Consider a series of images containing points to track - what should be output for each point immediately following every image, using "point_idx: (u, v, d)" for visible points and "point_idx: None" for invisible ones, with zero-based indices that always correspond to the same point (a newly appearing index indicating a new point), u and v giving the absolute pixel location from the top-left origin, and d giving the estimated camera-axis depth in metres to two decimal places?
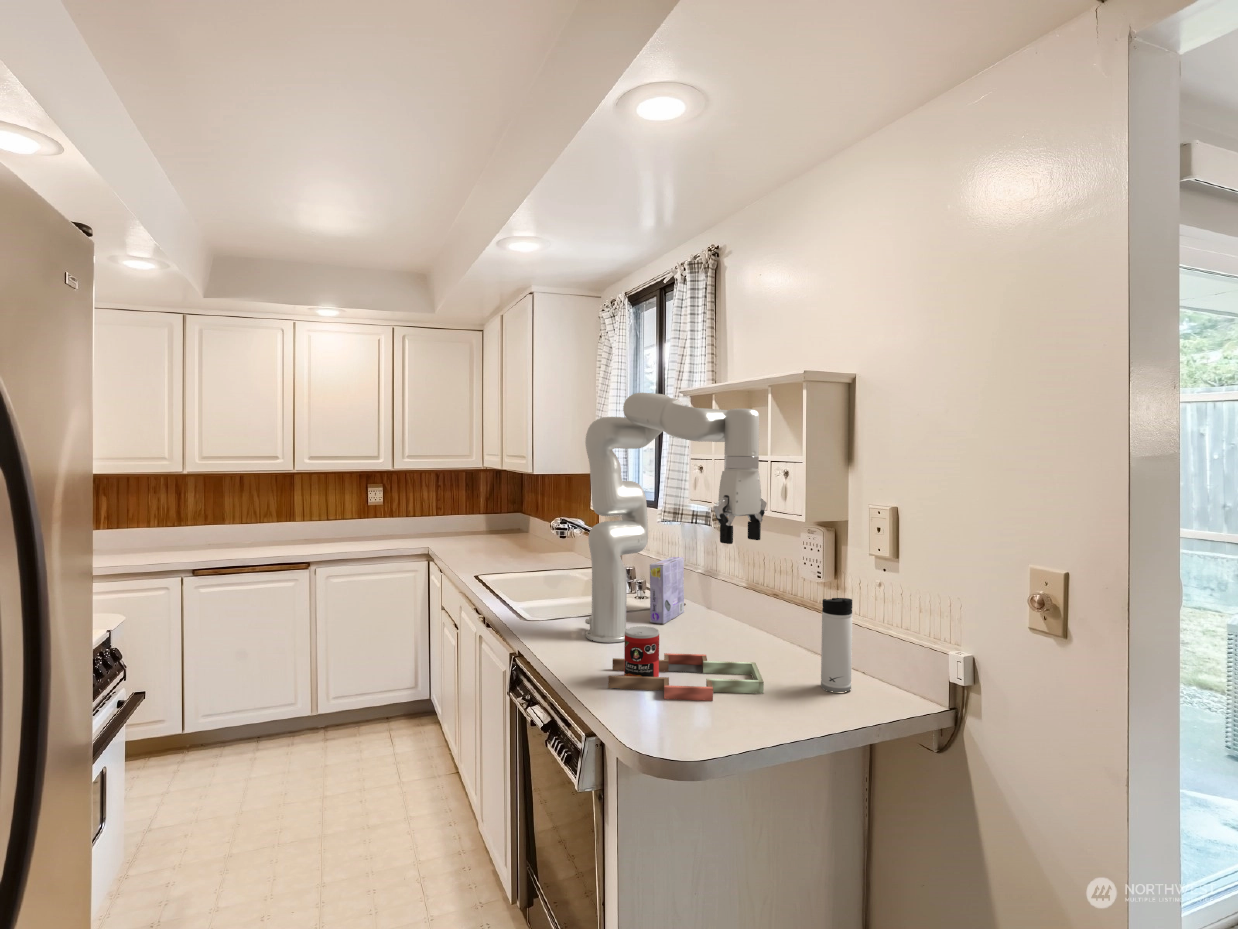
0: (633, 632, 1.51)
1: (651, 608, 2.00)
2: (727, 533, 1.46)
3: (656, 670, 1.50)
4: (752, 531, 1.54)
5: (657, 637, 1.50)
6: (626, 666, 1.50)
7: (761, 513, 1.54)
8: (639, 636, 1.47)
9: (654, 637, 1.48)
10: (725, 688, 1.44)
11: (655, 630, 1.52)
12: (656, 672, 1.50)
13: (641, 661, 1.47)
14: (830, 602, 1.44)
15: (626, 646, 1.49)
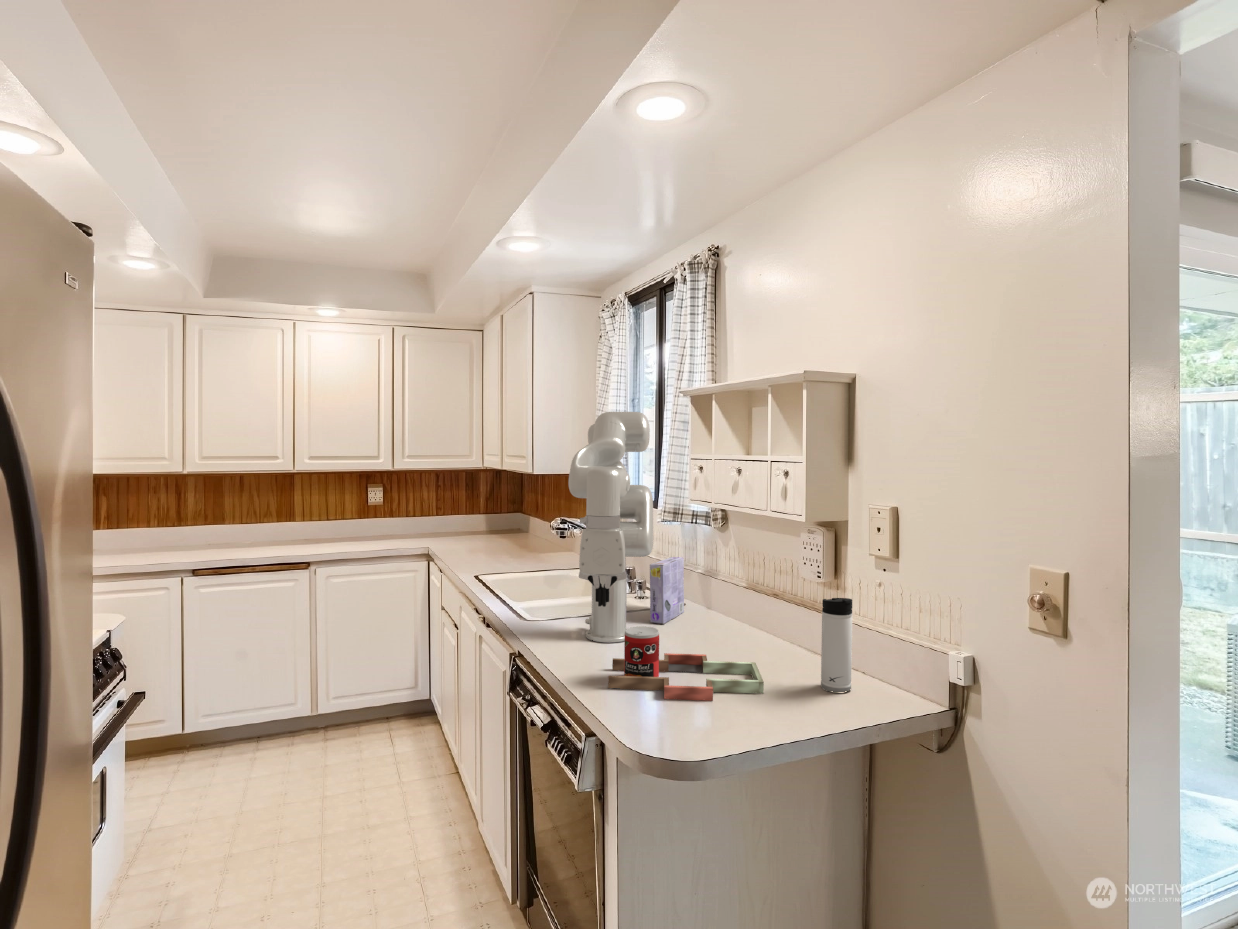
0: (633, 632, 1.51)
1: (651, 608, 2.00)
2: None
3: (656, 670, 1.50)
4: None
5: (657, 637, 1.50)
6: (626, 666, 1.50)
7: None
8: (639, 636, 1.47)
9: (654, 637, 1.48)
10: (725, 688, 1.44)
11: (655, 630, 1.52)
12: (656, 672, 1.50)
13: (641, 661, 1.47)
14: (830, 602, 1.44)
15: (626, 646, 1.49)
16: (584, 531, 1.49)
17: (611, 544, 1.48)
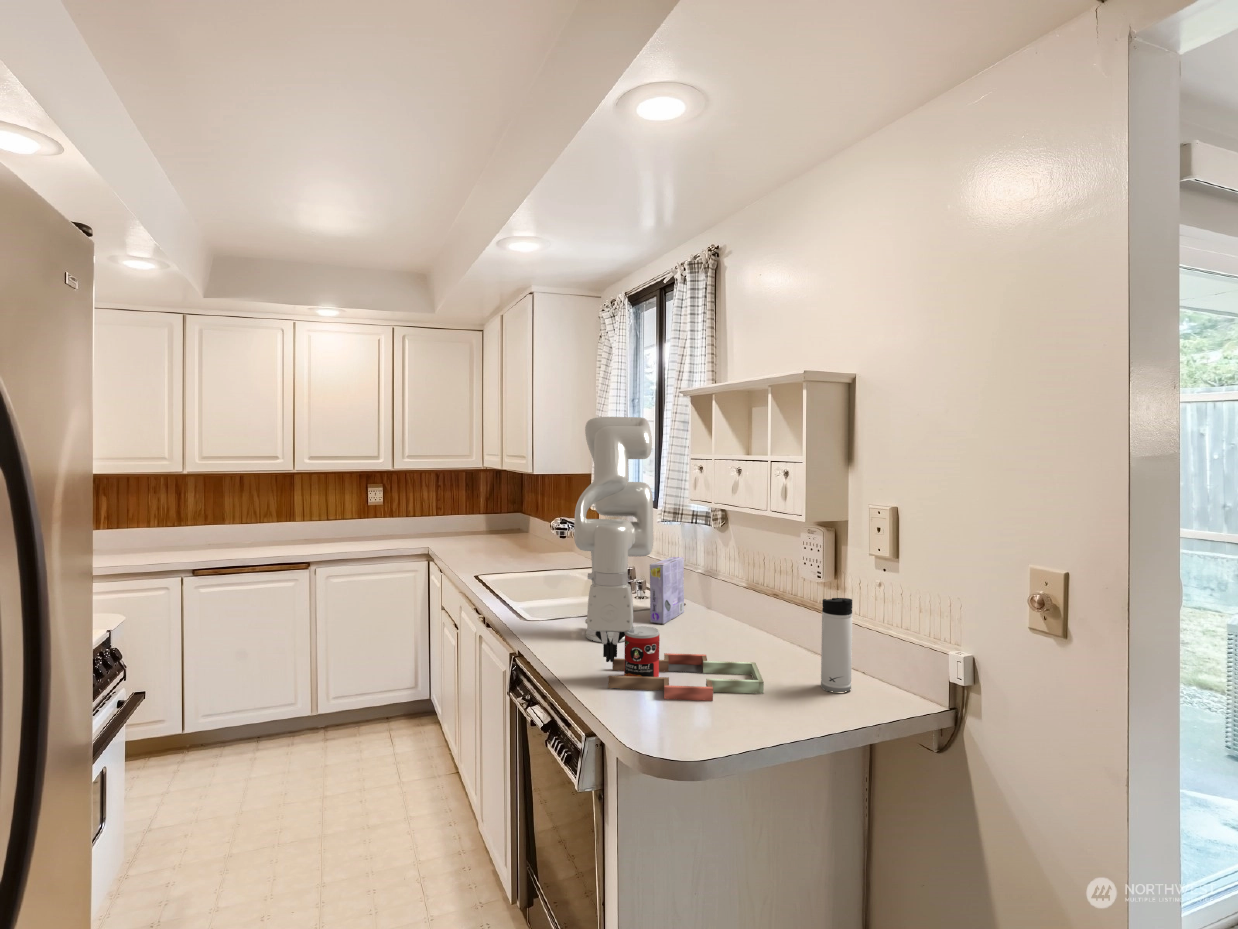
0: None
1: (651, 608, 2.00)
2: None
3: (656, 670, 1.49)
4: None
5: (657, 637, 1.50)
6: (626, 666, 1.50)
7: None
8: (639, 636, 1.47)
9: (654, 637, 1.48)
10: (725, 688, 1.44)
11: (655, 630, 1.52)
12: (656, 672, 1.50)
13: (641, 661, 1.47)
14: (830, 602, 1.44)
15: (626, 646, 1.49)
16: (592, 587, 1.50)
17: (619, 601, 1.49)
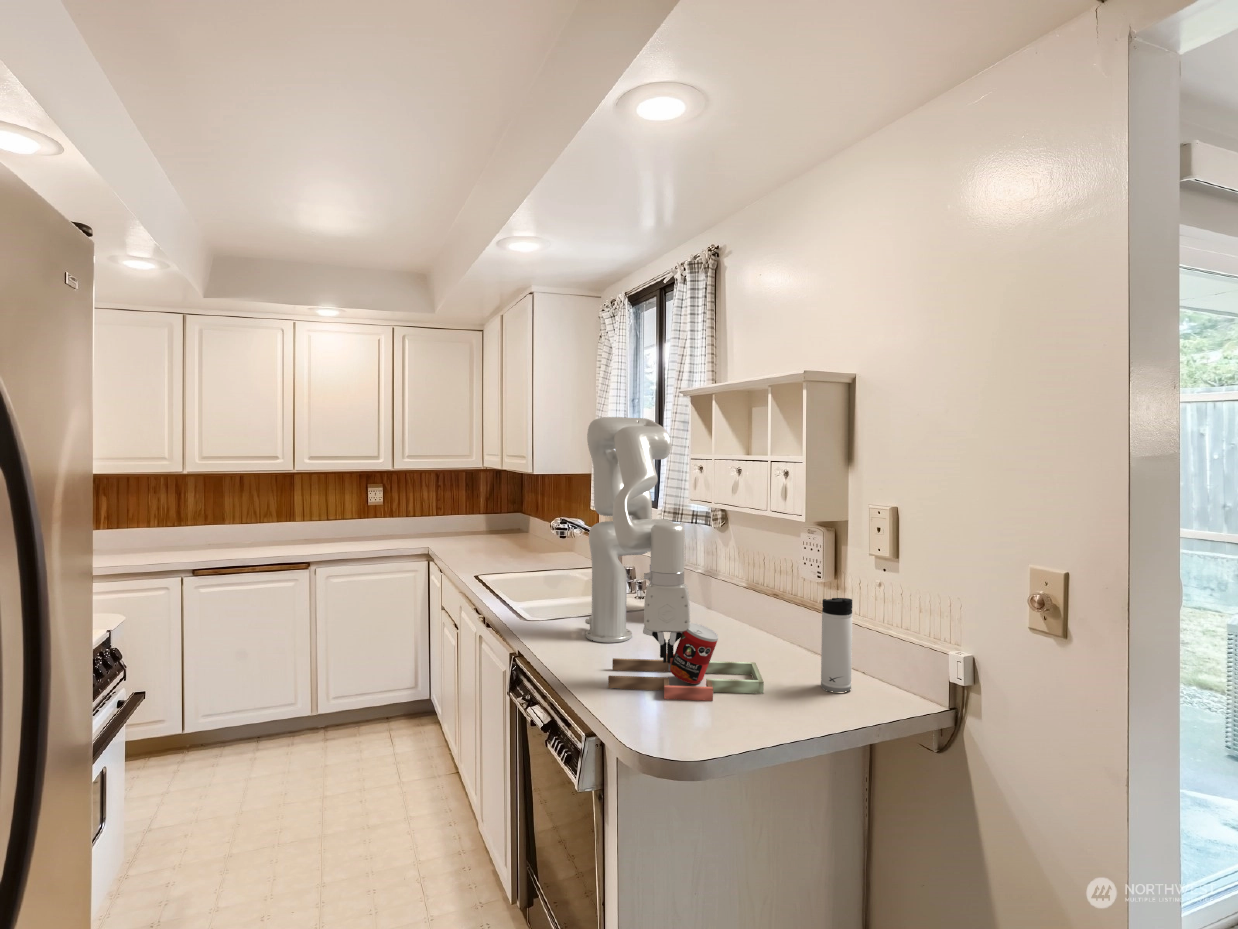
0: (693, 629, 1.50)
1: None
2: None
3: (702, 673, 1.48)
4: None
5: (714, 643, 1.47)
6: (675, 658, 1.49)
7: None
8: (697, 635, 1.46)
9: (711, 642, 1.46)
10: (725, 688, 1.44)
11: (715, 635, 1.50)
12: (702, 675, 1.48)
13: (691, 659, 1.46)
14: (830, 602, 1.44)
15: (682, 640, 1.48)
16: (649, 587, 1.49)
17: (676, 601, 1.48)
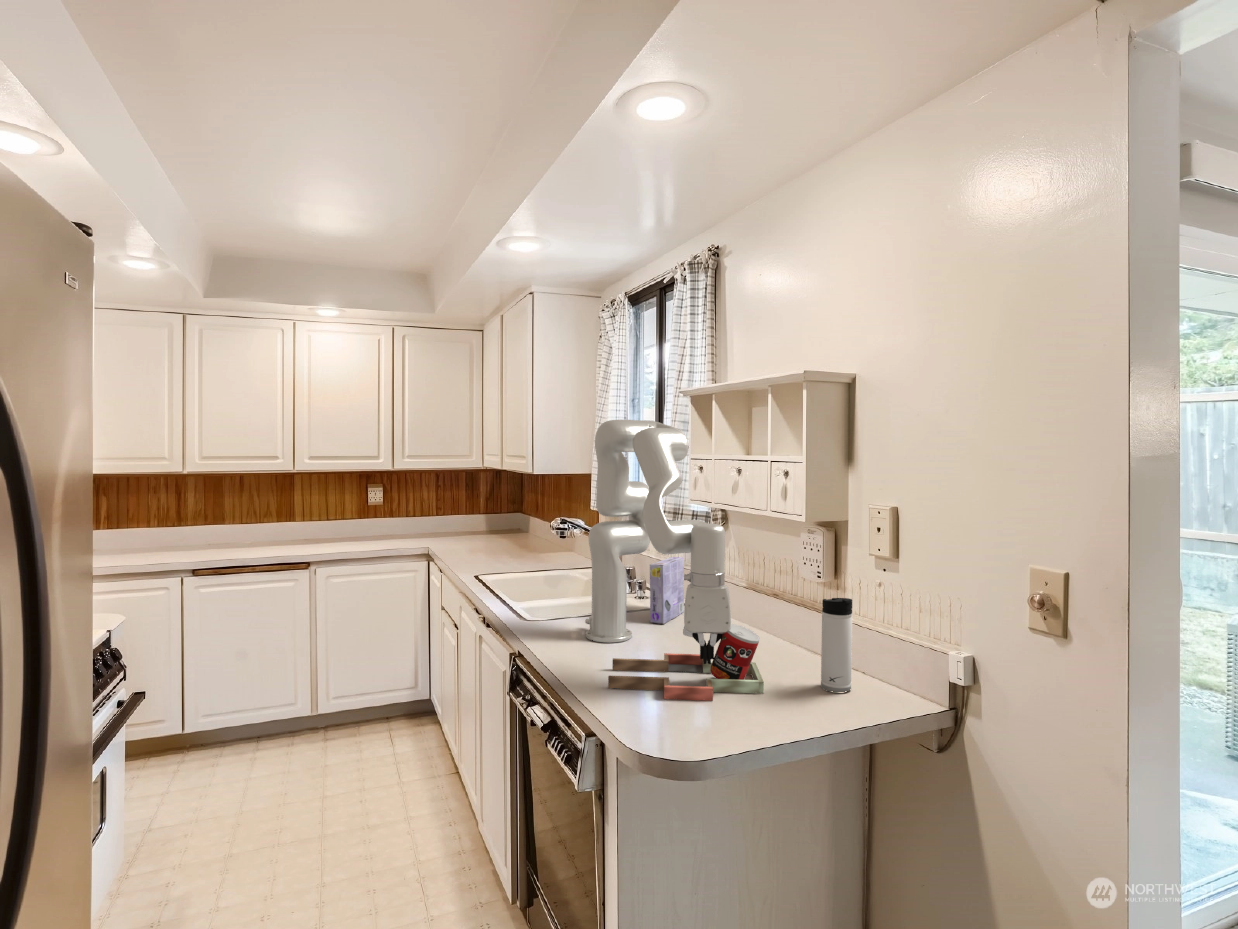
0: (734, 630, 1.49)
1: (651, 608, 2.00)
2: None
3: (743, 675, 1.47)
4: None
5: (755, 645, 1.46)
6: (715, 659, 1.48)
7: None
8: (738, 637, 1.45)
9: (752, 643, 1.45)
10: (725, 688, 1.44)
11: (756, 637, 1.49)
12: (742, 676, 1.47)
13: (732, 661, 1.45)
14: (830, 602, 1.44)
15: (722, 641, 1.48)
16: (690, 588, 1.48)
17: (717, 602, 1.47)
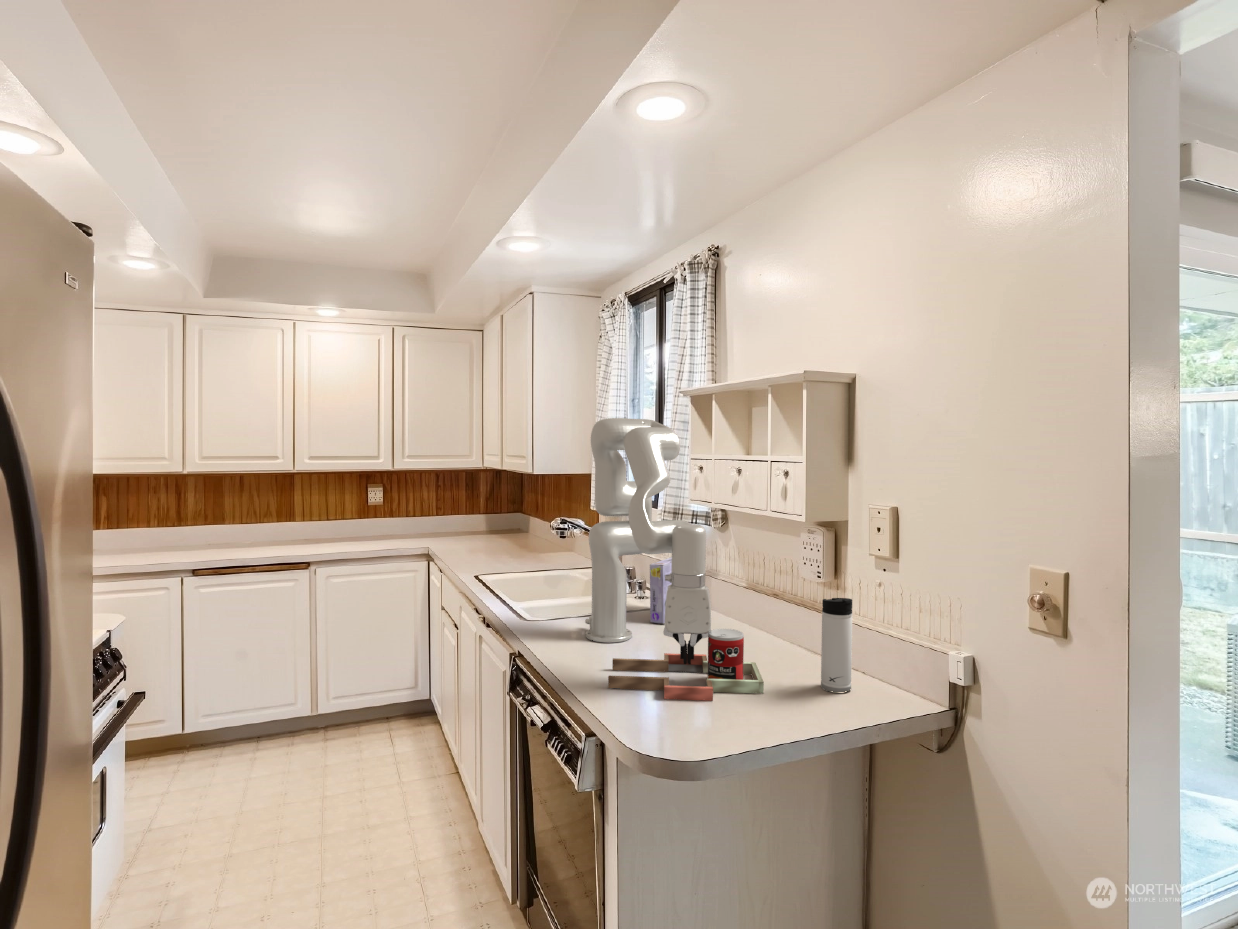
0: (717, 634, 1.50)
1: (651, 608, 2.00)
2: None
3: (739, 674, 1.47)
4: (686, 654, 1.51)
5: (740, 640, 1.47)
6: (709, 667, 1.49)
7: None
8: (721, 638, 1.46)
9: (736, 640, 1.47)
10: (725, 688, 1.44)
11: (740, 633, 1.50)
12: (739, 676, 1.47)
13: (723, 663, 1.46)
14: (830, 602, 1.44)
15: (709, 648, 1.49)
16: (670, 589, 1.49)
17: (698, 603, 1.48)
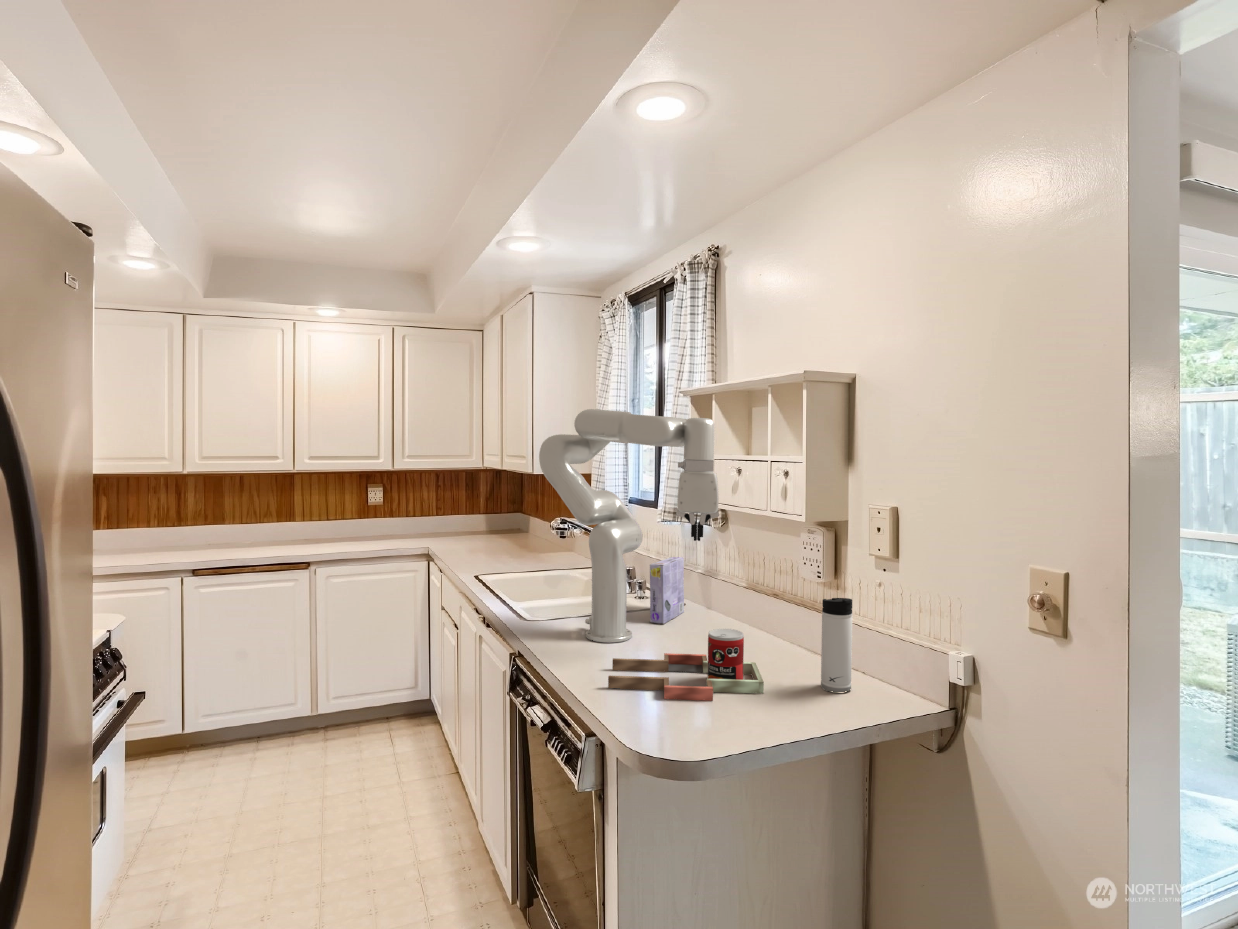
0: (717, 634, 1.50)
1: (651, 608, 2.00)
2: None
3: (739, 674, 1.47)
4: None
5: (740, 640, 1.47)
6: (709, 667, 1.49)
7: None
8: (721, 638, 1.46)
9: (736, 640, 1.47)
10: (725, 688, 1.44)
11: (740, 633, 1.50)
12: (739, 676, 1.47)
13: (723, 663, 1.46)
14: (830, 602, 1.44)
15: (709, 648, 1.49)
16: (682, 473, 1.68)
17: (707, 485, 1.67)
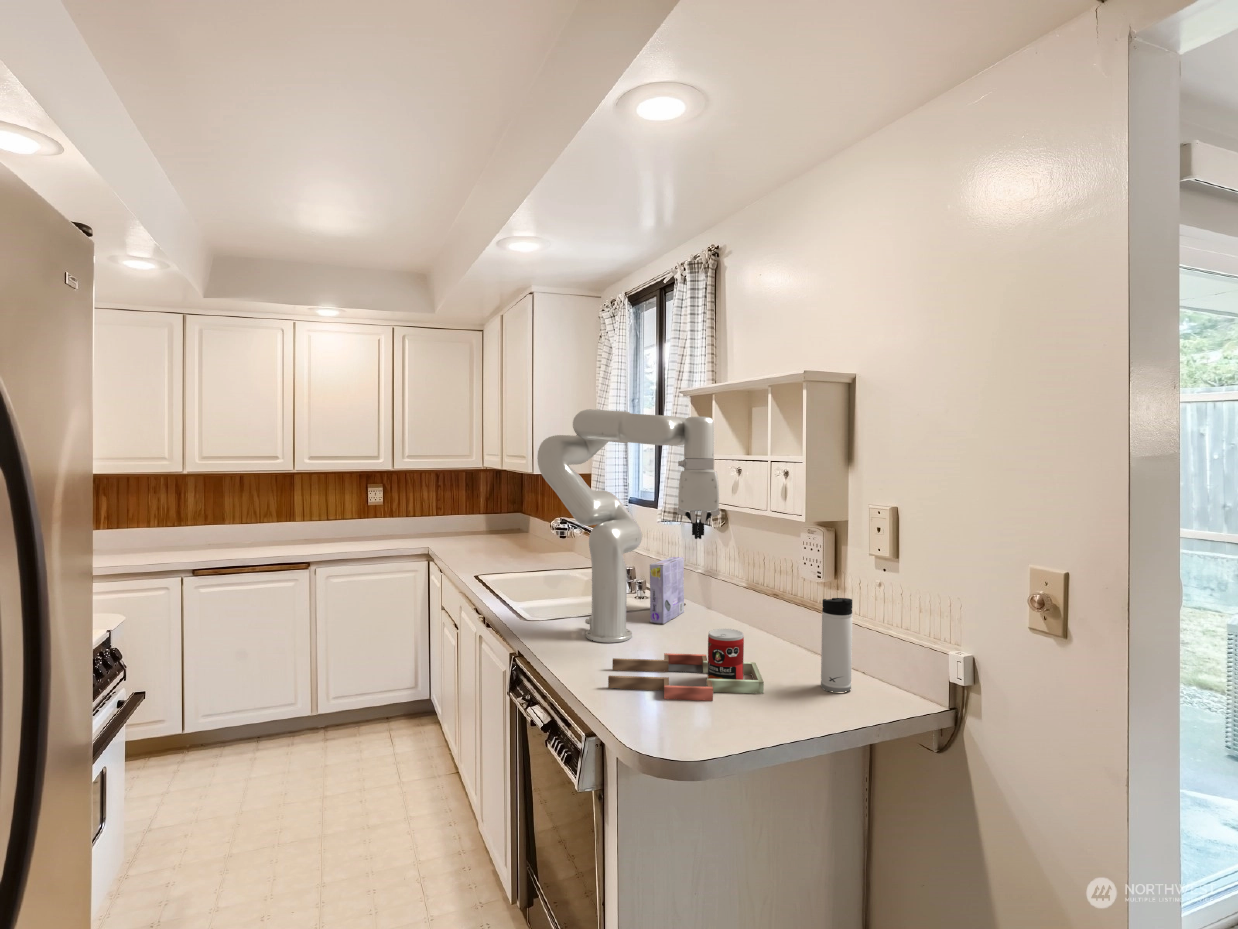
0: (717, 634, 1.50)
1: (651, 608, 2.00)
2: None
3: (739, 674, 1.47)
4: None
5: (740, 640, 1.47)
6: (709, 667, 1.49)
7: None
8: (721, 638, 1.46)
9: (736, 640, 1.47)
10: (725, 688, 1.44)
11: (740, 633, 1.50)
12: (739, 676, 1.47)
13: (723, 663, 1.46)
14: (830, 602, 1.44)
15: (709, 648, 1.49)
16: (683, 472, 1.69)
17: (707, 483, 1.68)
